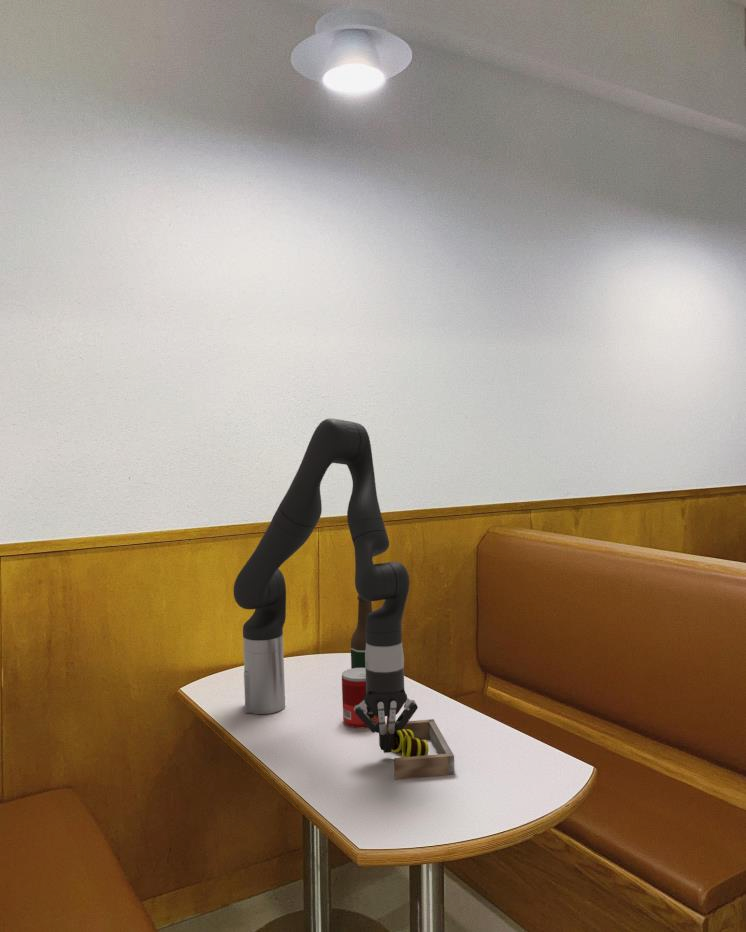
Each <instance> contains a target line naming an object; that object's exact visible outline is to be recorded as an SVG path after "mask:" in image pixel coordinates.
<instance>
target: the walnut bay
mask: <svg viewBox="0 0 746 932" xmlns="http://www.w3.org/2000/svg"><path fill="white" fill-rule="evenodd" d="M385 727H386V731H387V722H385ZM403 729H404V730H408V729H409V730H411V731H412V732H413V734H414V738H417V739H419V740H423V739H422V738H426V739H429V740H430V742H431V744H432V746H433V747H434V750H435V749H436V750H435V752H436V751H437V752H436V753H438V754H428V755H425V756H413V757H402V756H401V757H394V758H393V762H394V763H393V767H394V768H393V769H394V774H393V775H394V779H395V780H402V779H414V778H425V777H436V776H446V775H447V776H448V775H456V774H455V773H456V772H455V755H454V753H453V751H452V749H451V747H450V746H449V744H448V742H447V740H446V738H445V737H444V735H443V733H442V732H441V730H440V728H439V726H438V724H437V723H436V721H435V719H433V718H432V719H431V718H430V719H418V720H417V719H416V720H409V721H408V722H407V724H406V725H405V727H404V728H403Z"/></svg>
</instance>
